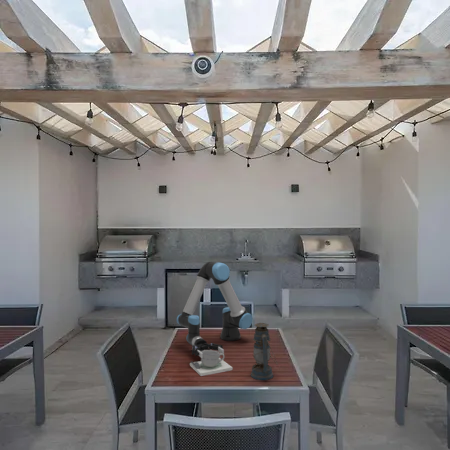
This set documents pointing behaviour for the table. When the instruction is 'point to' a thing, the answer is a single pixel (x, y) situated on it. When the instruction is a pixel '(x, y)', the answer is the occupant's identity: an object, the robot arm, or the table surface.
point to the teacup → (211, 358)
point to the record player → (210, 368)
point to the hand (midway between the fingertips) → (212, 353)
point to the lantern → (262, 353)
